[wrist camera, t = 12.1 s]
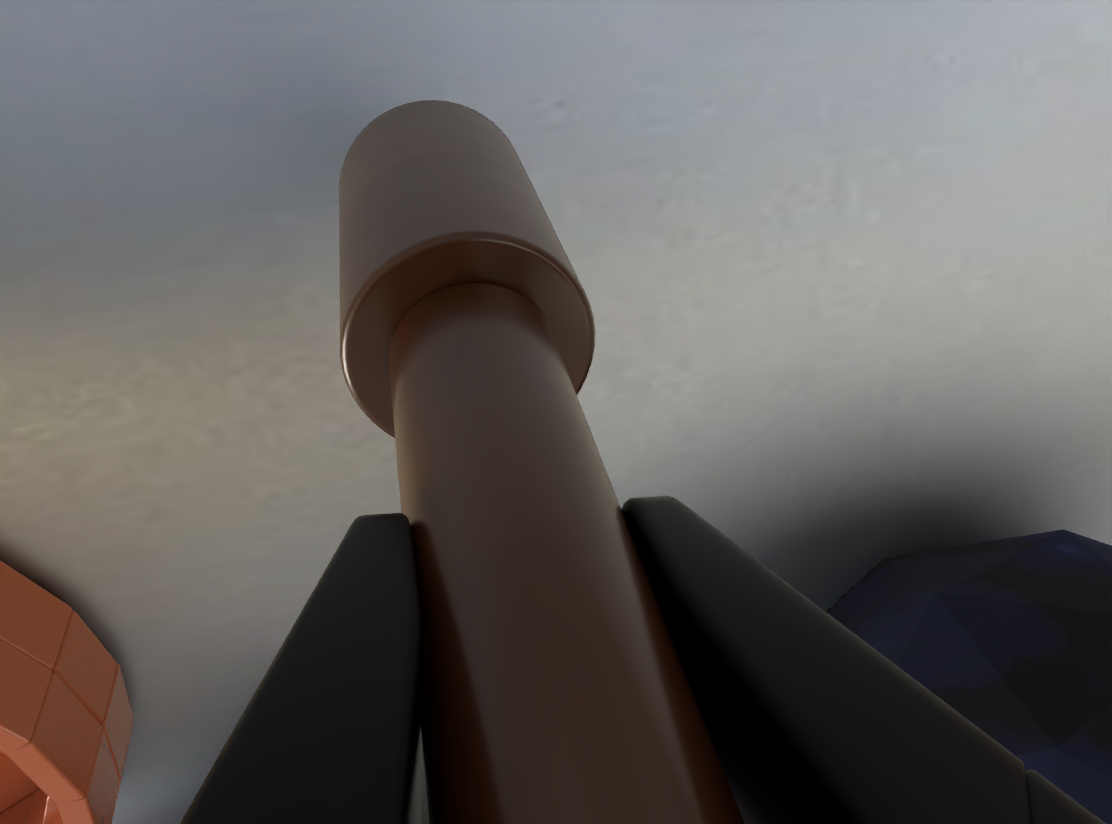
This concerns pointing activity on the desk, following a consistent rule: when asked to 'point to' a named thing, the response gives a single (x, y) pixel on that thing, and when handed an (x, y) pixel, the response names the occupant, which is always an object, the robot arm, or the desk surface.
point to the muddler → (508, 494)
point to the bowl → (57, 712)
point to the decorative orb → (1007, 646)
